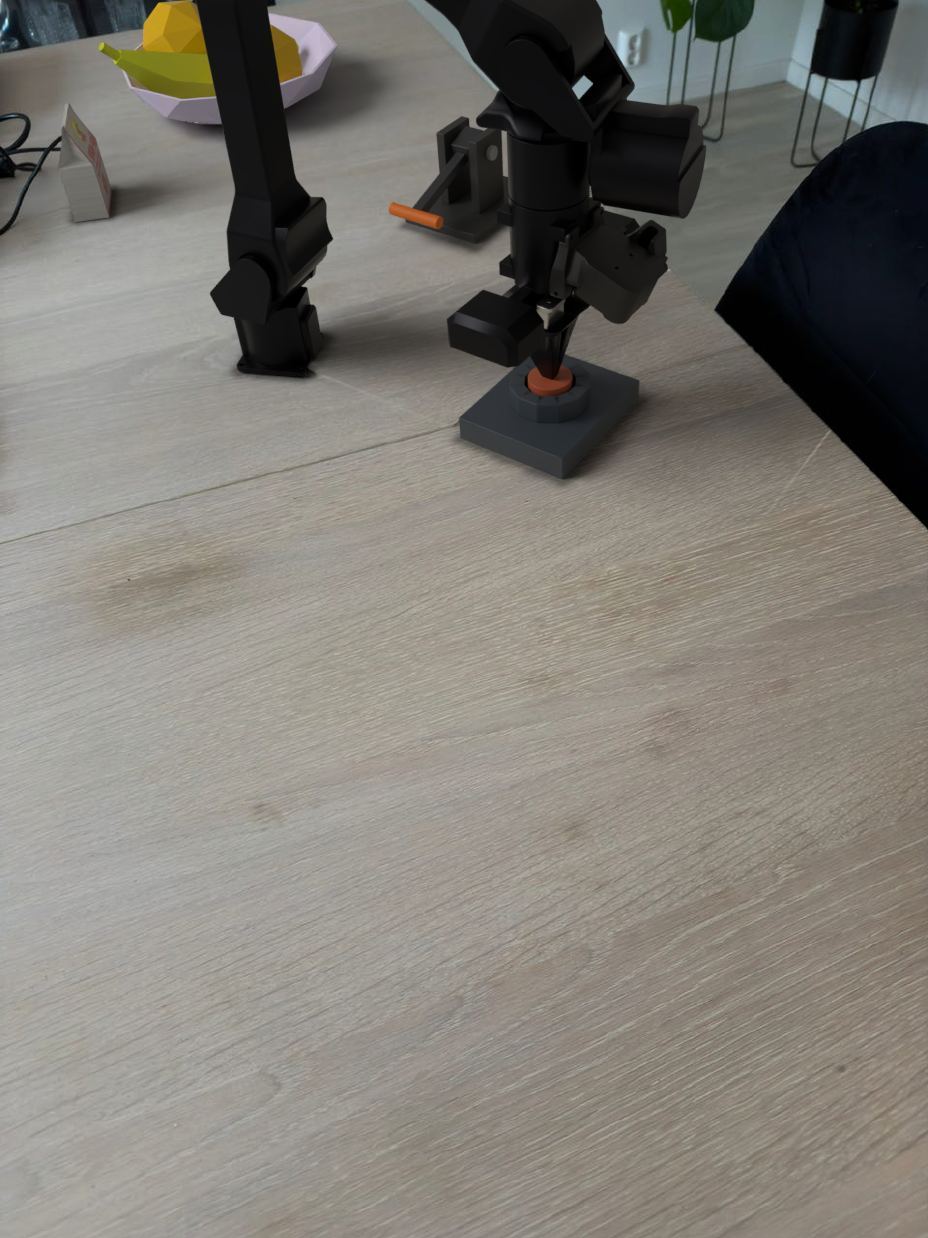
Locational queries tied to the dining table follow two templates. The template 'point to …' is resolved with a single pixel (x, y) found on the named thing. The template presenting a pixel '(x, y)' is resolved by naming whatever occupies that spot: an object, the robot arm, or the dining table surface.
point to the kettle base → (471, 185)
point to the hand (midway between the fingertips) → (549, 376)
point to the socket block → (549, 416)
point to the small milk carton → (83, 170)
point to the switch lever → (438, 184)
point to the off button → (550, 382)
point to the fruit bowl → (179, 68)
